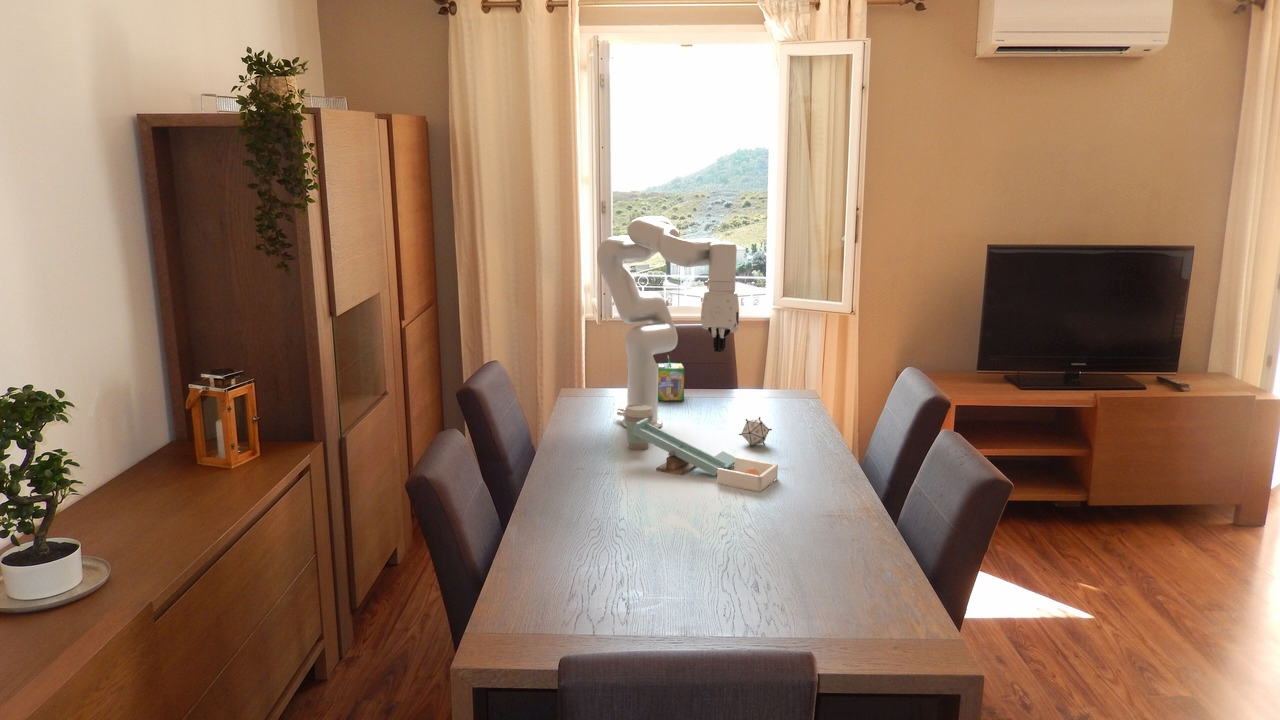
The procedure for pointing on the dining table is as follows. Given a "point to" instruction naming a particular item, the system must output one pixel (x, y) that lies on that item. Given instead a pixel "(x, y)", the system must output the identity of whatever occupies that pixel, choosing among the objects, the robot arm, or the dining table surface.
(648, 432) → the lever
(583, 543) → the dining table surface
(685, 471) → the fulcrum
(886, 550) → the dining table surface
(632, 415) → the coffee cup
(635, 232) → the robot arm
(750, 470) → the ball
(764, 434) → the game die
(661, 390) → the chalk box
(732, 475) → the tray
